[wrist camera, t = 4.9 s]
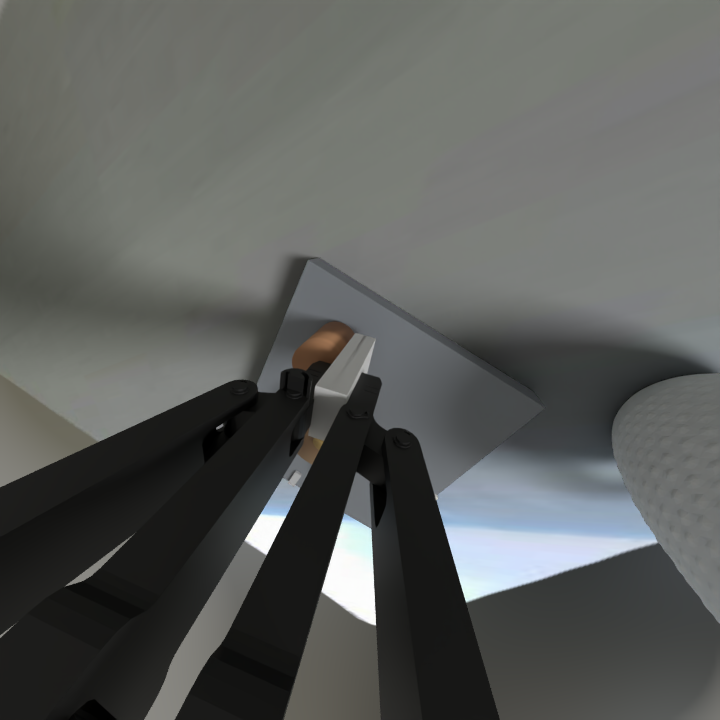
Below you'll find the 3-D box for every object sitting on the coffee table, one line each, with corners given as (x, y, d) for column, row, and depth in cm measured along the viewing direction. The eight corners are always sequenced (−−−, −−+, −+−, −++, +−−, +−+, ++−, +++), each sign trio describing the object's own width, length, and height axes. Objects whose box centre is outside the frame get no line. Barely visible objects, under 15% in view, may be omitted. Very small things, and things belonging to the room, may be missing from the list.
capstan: (292, 315, 17) (259, 334, 14) (385, 328, 16) (376, 353, 13) (299, 485, 25) (280, 526, 21) (363, 502, 24) (354, 547, 20)
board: (319, 257, 18) (306, 260, 16) (534, 392, 18) (549, 411, 16) (243, 433, 27) (228, 449, 25) (388, 518, 28) (385, 540, 26)
